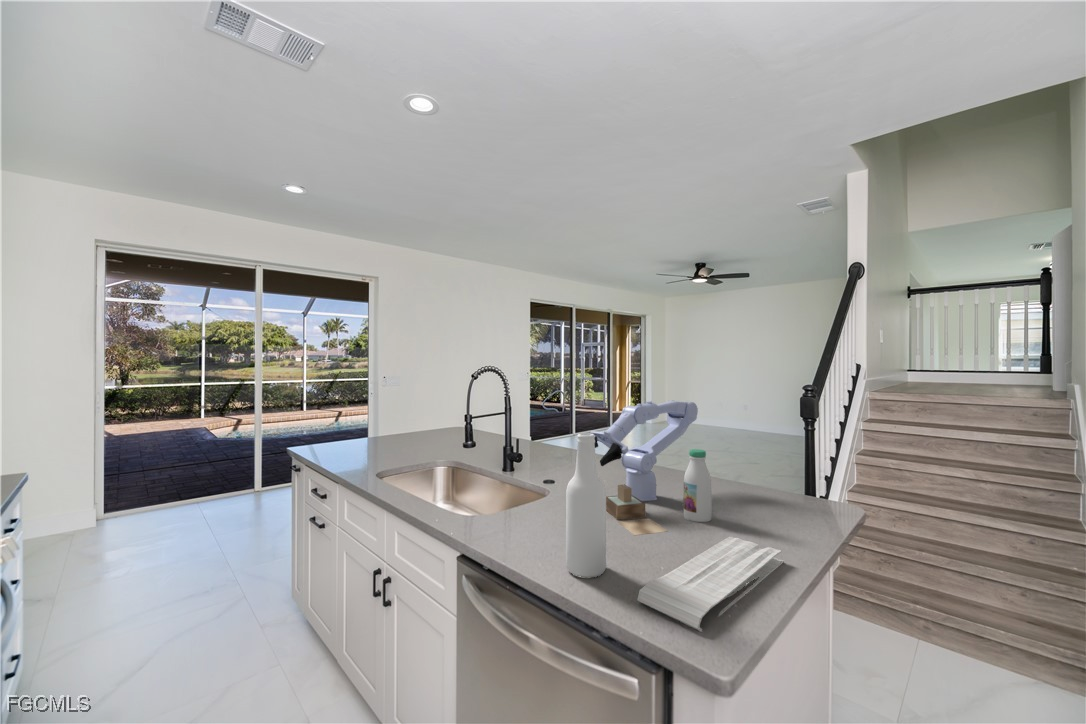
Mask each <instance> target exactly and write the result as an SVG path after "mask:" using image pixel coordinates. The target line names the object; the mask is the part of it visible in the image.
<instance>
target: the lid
mask: <svg viewBox="0 0 1086 724" xmlns="http://www.w3.org/2000/svg"><path fill="white" fill-rule="evenodd" d="M615 496H616V497H608V499H610V500H611V501H613V502H614V503H615V504H617V505H628V504H638V503H642V502H643V501H642V502H640V501H638V500H637V499H635V498H634V497H632V488H630V487H628V486H627V485H626V483H625V484H618V485H617V495H615Z"/></svg>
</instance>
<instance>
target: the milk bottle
mask: <svg viewBox="0 0 1086 724" xmlns="http://www.w3.org/2000/svg"><path fill="white" fill-rule="evenodd" d="M688 452H689V453H688V454H689V456H688V457H689V463H688V465H687V468H686V470H685V473H684V477H683V517H684V519H686V520H687V521H689V522H695V523H708V522H709V521H712V477H711V474H710V472H709V469H708V467H707V465H706V456H707V452H706V450H704V449H698V448H697V449H696V448H695V449H689V451H688Z"/></svg>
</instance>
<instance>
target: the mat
mask: <svg viewBox="0 0 1086 724" xmlns="http://www.w3.org/2000/svg"><path fill="white" fill-rule="evenodd" d="M618 523H619V525H621V526H622V527H623V528H625V530H627V531H628V532H629V533H631V534H632V535H633V536H641V535H648V534H649V535H650V534H657V533H667V532H668V530H667V529H666V528H664V527H662V526H661V525H660V524H658V523H657V522H656V521H654V520H652V519H651V518H639V519H632V520H622V521H618Z"/></svg>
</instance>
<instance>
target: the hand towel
mask: <svg viewBox="0 0 1086 724" xmlns="http://www.w3.org/2000/svg"><path fill="white" fill-rule="evenodd" d="M781 553H783V550H780V549H776V548H773V547H771V546H770V547H768V546H767V547H765V548H761V547H760V545H759V544H758V543H755V542H752V541H748V540H743V539H741V538H739V537H733V536H728V537H727V538H725V539H723V540H721V541H719V542H718V543H716V544H714V545H712V546H711V547H709V548H708V549H706V550H704V551H703V552H701V553H699V554H698V555H696V556H694V557H692V558H691V559H689V560H688V561H686V562H685V563H682V564H681V565H680V566H678V567H676V568H675V569H673V570H671V571H669V572H668V573H666V574H664V575H663V576H660V577H657V578H655V579H652V580H650V581H648V583H646V584H645V585H644V586H642V587H641V588H640V589H639V591H638V596H637V599H636V601H638V602H640V603H641V604H643V605H645V606H647V607H649V608H651V609H653V610H655V611H657V612H659V613H662V614H664V615H666V616H667V617H670V618H671V619H673V620H675V621H678V622H679V621H680V623H681V624H684V625H685V626H688V627H690V628H693V630H695V631H699V632H700V633H701V632H703V631H702V630H703V628H702V627H700V626H701V622H702V619H703V617H704V616H705V615H706V614H707V613H708V612H709V611H711V609H712V608H713V607H715V606H716V605H718V604H719V603H721V602H722V601H723V600H725V599H729V598H730V597H732V596H734V595H735V594H737V591H738V592H739V591H741V590H742V589H744V588H745V587H746V586H747V585H746V583H748V582H750V581H752V580H753V579H755V581H754V582H755V583H754V582H753V581H752V582H753V583H752V584H753V585H752V584H751V585H750V586H749V587H747V588H746V589H745V590H744V591H742V594H741V593H740V594H739V595H738V596H736V597H735V598H734V599H733V600H732V601H731V602H730V603H728V604H727V605H726V606H725V607H723V608H722V609H721V610H720V611H719V613H718V617H720V616H722V615H723V614H724V613H725V612H726V611H728V609H730V608H731V607H732V606H733V605H734V604H736V603H737V602H738V601H739V600H740V599H742V598H743V597H744V596H746V595H747V594H748V593H749V592H751V591H753V589H754V588H755V587H756V586H757V585H759V584H760V583H761V582H762V581H763V580H765V579H766V578H767V577H768V576H769V575H771V574H772V573H773V572H774V571H775V570H776V569H778V568H779V567H780V566H781V565H782V564H783V563H784V562H785V560H782V559H778V558H777V557H776V556H778V555H779V554H781ZM758 577H759V578H758ZM745 585H746V586H745ZM744 586H745V587H744ZM743 587H744V588H743ZM750 590H751V591H750ZM745 594H746V595H745Z"/></svg>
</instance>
